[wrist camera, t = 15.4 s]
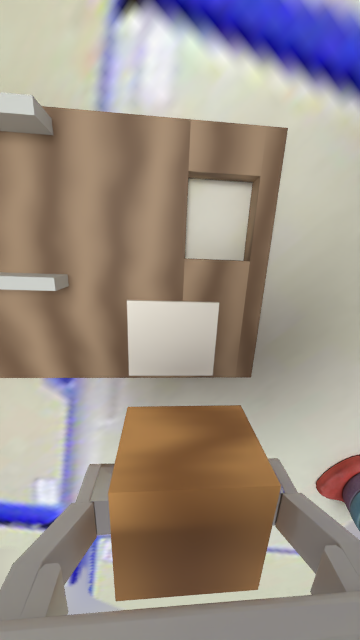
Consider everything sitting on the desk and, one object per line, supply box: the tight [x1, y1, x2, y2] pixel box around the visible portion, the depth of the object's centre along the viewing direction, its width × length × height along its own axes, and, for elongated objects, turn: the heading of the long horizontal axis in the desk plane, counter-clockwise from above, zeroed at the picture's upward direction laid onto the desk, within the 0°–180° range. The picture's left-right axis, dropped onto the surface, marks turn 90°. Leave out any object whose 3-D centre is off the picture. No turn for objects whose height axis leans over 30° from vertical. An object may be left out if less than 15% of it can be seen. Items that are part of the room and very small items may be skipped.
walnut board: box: [0, 106, 288, 378], centre depth 24 cm, size 35×26×2 cm
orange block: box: [108, 405, 281, 601], centre depth 10 cm, size 6×6×4 cm
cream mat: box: [127, 300, 219, 376], centre depth 26 cm, size 10×9×1 cm
